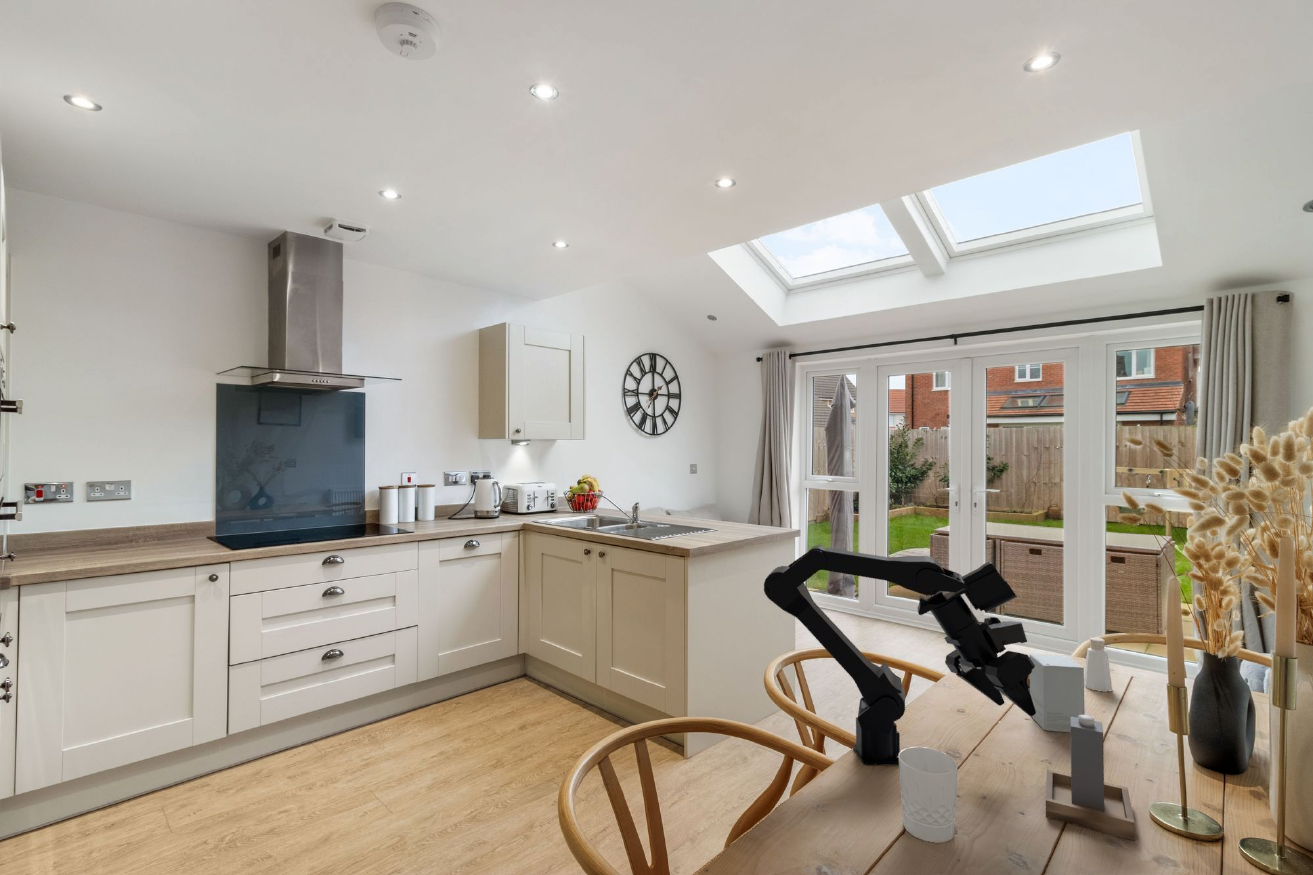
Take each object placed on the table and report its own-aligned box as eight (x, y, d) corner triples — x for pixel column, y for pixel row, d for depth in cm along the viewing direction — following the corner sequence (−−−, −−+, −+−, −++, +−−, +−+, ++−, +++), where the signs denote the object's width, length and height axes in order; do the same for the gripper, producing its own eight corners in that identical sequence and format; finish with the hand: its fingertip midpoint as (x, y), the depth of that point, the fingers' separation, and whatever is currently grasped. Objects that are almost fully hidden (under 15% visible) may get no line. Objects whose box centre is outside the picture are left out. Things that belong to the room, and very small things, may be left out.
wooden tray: (1045, 816, 94) (1045, 800, 94) (1047, 784, 103) (1046, 768, 103) (1134, 840, 89) (1134, 822, 89) (1127, 803, 98) (1127, 787, 98)
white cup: (954, 853, 86) (953, 779, 86) (893, 834, 90) (893, 764, 90) (961, 823, 93) (960, 755, 93) (904, 807, 97) (904, 741, 97)
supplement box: (1086, 734, 121) (1085, 667, 121) (1043, 730, 122) (1042, 665, 122) (1069, 717, 128) (1068, 654, 128) (1028, 714, 129) (1028, 652, 129)
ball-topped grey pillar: (1071, 806, 95) (1070, 719, 95) (1071, 793, 99) (1070, 709, 99) (1104, 814, 93) (1103, 725, 93) (1102, 801, 96) (1101, 715, 97)
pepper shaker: (1118, 692, 140) (1118, 642, 141) (1093, 692, 141) (1093, 642, 141) (1101, 682, 146) (1101, 635, 146) (1077, 683, 146) (1077, 635, 146)
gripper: (1029, 601, 100) (1093, 692, 97) (971, 599, 118) (1023, 675, 115) (972, 639, 98) (1035, 732, 95) (922, 630, 117) (974, 708, 114)
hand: (1017, 709), depth 105 cm, fingers open, 9 cm apart
